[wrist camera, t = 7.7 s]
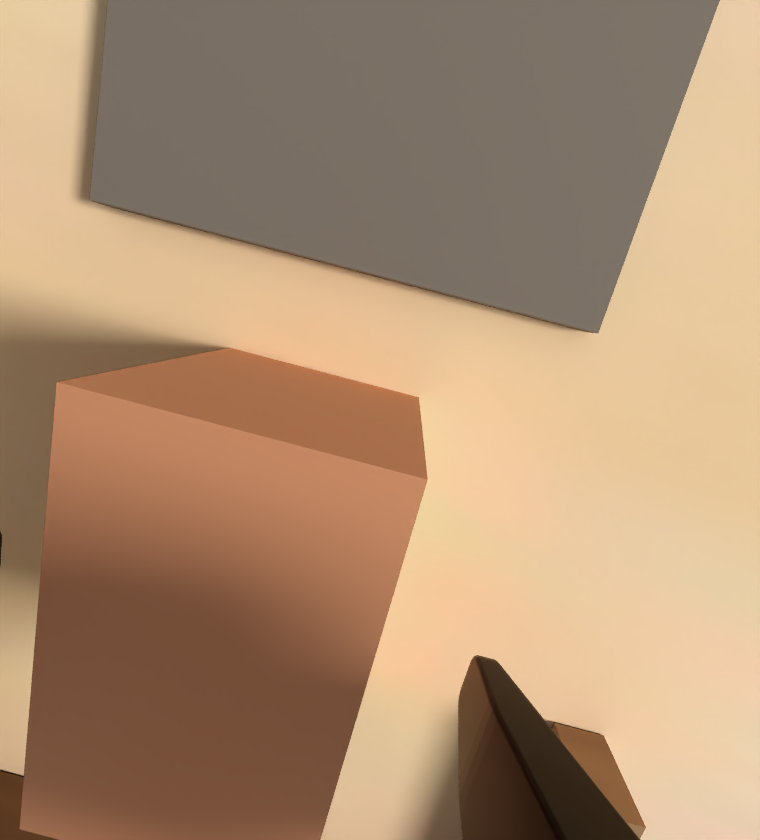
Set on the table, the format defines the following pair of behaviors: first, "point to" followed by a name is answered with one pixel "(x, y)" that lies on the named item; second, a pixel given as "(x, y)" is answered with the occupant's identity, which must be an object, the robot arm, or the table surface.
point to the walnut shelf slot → (591, 750)
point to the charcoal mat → (404, 134)
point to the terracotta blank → (212, 595)
